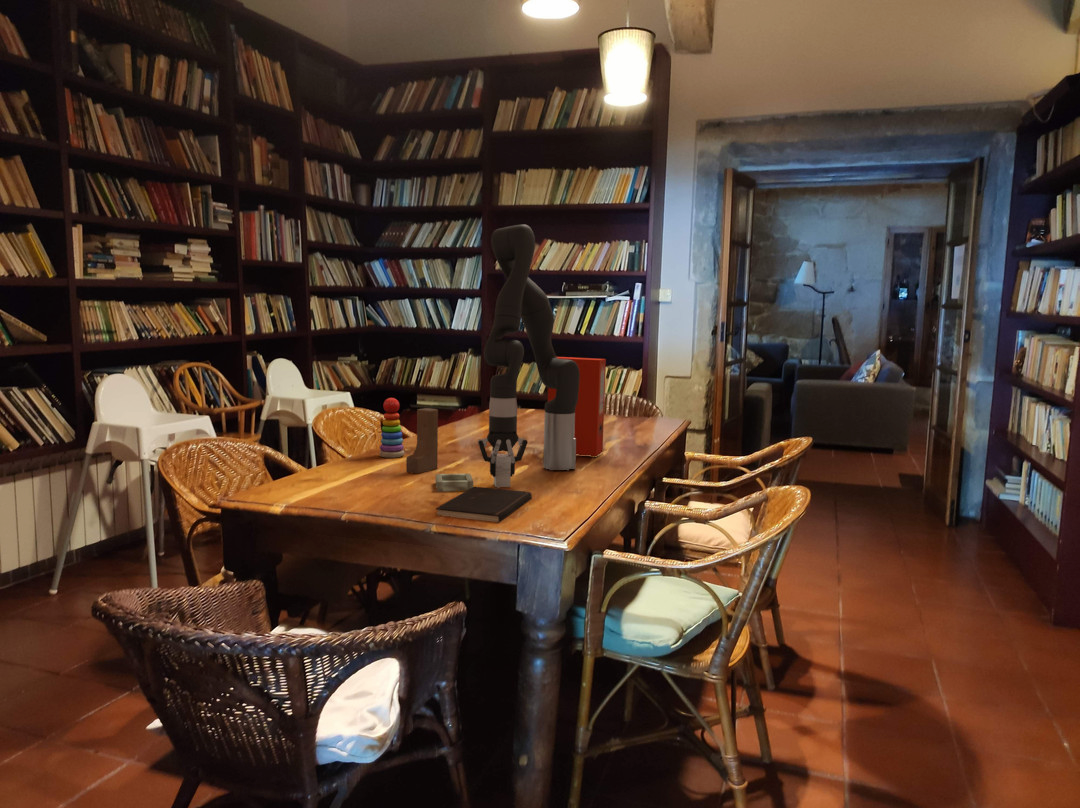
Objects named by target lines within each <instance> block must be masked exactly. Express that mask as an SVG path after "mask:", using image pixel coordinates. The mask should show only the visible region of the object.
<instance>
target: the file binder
mask: <svg viewBox="0 0 1080 808" xmlns="http://www.w3.org/2000/svg"><path fill="white" fill-rule="evenodd" d="M556 357H557V358H558V359H568V360H572V361H574V362H576V364H577V365H578V368H579V373H580V381H579V393H578V402H577V405H576V408H575V434H574V437H575V438H576V454H579V455H591V456H597V455H598V454H600V453H601V452H603V451H604V450H603V449H604V448H603V447H604V423H605V421H604V419H605V393H606V365H607V364H606V363H607V362H606V361H607V359H606V358H591V357H590V358H589V357H571V356H569V357H568V356H567V357H566V356H556ZM555 396H556V389H552V388H548V387H547V402H548V401H551V400H553V399H554V398H555Z"/></svg>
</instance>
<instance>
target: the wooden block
mask: <svg viewBox="0 0 1080 808" xmlns="http://www.w3.org/2000/svg"><path fill="white" fill-rule="evenodd" d="M416 415H417V416H416V447H415V449H414V452H413V453H412V454H410V455H408V456H406V458H405V460H406V462H405V463H406V464H405V465H406V467H405V468H406V469H405V470H406V472H407V473H411V472H412V474H416V473H418V474H422V473H425V472H429V470H430V471H434V470H437V469H438V466H439V465H438V461H439V460H438V451H439V449H438V445H439V443H438V439H439V438H438V437H439V435H438V434H439V433H438V432H439V429H438V427H439V425H438V421H439V419H438V418H439V410H438V409H437V408H430V407H424V408H418V409H416ZM436 468H437V469H436ZM433 469H434V470H433ZM421 472H422V473H421Z"/></svg>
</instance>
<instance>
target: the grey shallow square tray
mask: <svg viewBox="0 0 1080 808" xmlns="http://www.w3.org/2000/svg"><path fill="white" fill-rule="evenodd" d="M435 487H436V488H437V489H436V492H437V491H438V492H456V491H455V490H458V491H457V492H461V491H460V490H463V491H462V492H465V490H469V489H471V488H473V487H474V480H473V478H472V474H471V473H436V474H435Z"/></svg>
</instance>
